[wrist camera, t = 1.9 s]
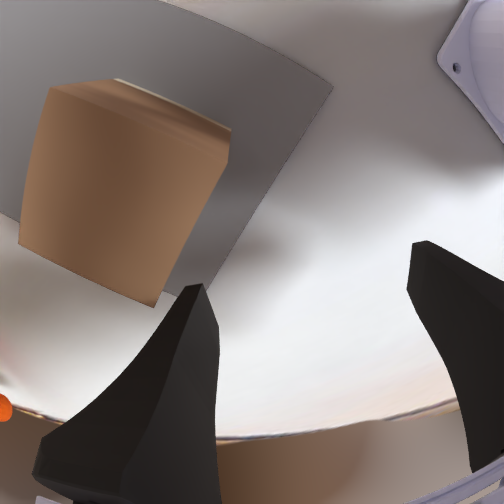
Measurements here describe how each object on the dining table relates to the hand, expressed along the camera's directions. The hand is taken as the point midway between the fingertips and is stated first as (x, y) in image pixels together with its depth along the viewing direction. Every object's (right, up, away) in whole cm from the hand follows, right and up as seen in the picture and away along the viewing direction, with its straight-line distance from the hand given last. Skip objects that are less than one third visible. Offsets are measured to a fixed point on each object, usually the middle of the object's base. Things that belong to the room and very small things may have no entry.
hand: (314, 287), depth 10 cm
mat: (-11, +7, 0) cm, 13 cm away
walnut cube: (-6, +5, +1) cm, 8 cm away
